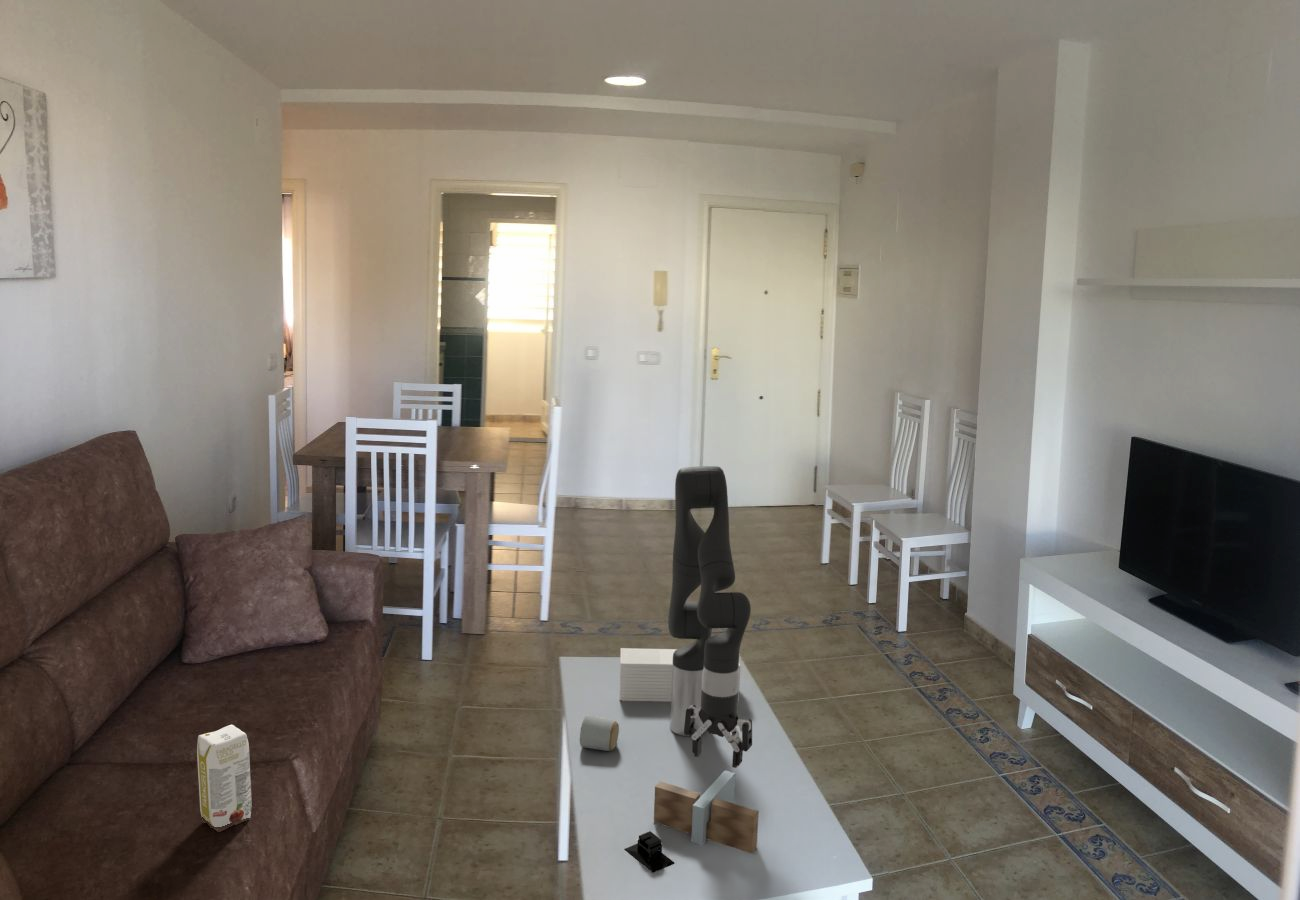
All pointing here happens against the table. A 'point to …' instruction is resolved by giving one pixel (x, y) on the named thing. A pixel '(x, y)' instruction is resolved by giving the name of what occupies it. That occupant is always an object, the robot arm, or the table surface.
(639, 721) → the table surface
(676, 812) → the brown wooden board
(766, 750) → the table surface
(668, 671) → the stack of papers
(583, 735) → the ceramic mug
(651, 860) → the black plastic bracket
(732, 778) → the blue grey block
